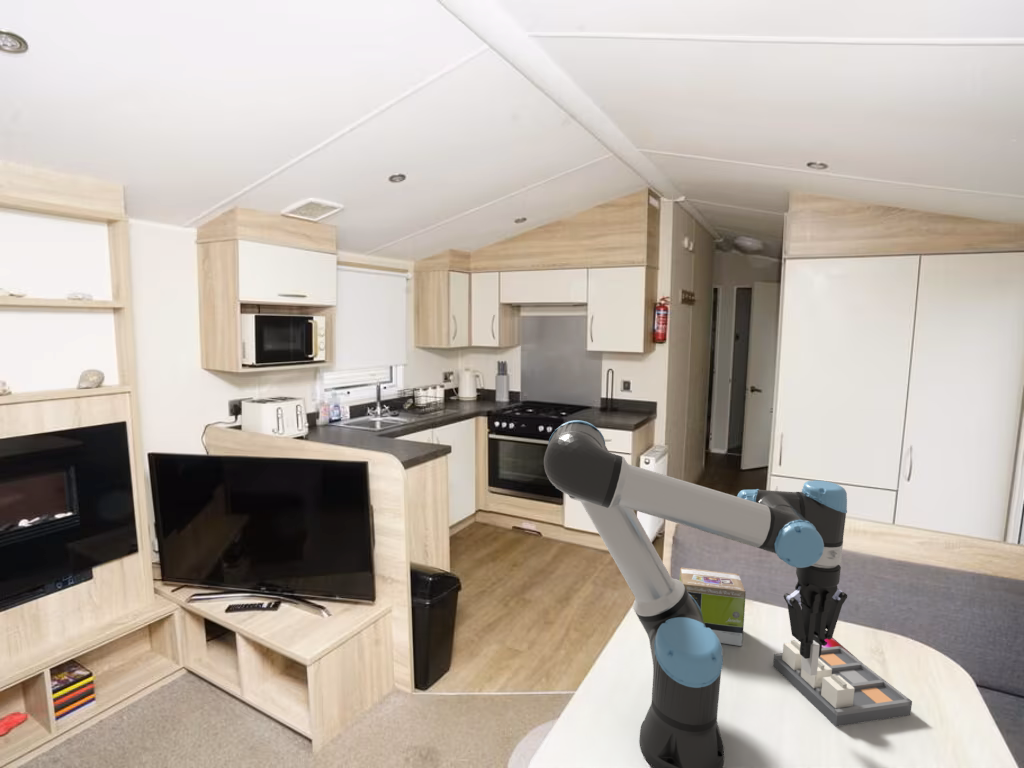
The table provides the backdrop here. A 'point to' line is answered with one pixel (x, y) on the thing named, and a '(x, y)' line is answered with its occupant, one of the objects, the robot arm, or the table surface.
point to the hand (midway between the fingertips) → (808, 670)
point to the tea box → (718, 601)
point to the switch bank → (869, 695)
